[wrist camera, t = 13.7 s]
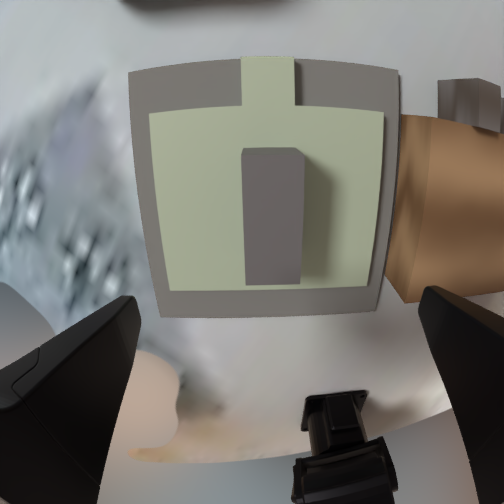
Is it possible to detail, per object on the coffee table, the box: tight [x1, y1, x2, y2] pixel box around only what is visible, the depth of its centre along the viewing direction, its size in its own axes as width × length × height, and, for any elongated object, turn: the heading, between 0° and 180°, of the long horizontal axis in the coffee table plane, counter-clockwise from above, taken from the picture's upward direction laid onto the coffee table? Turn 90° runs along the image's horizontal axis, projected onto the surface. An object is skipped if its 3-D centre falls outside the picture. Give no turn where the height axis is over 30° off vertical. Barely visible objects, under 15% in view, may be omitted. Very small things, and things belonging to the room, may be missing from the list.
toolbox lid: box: [149, 56, 384, 291], centre depth 17 cm, size 15×14×4 cm
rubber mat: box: [128, 59, 399, 318], centre depth 20 cm, size 18×17×1 cm
